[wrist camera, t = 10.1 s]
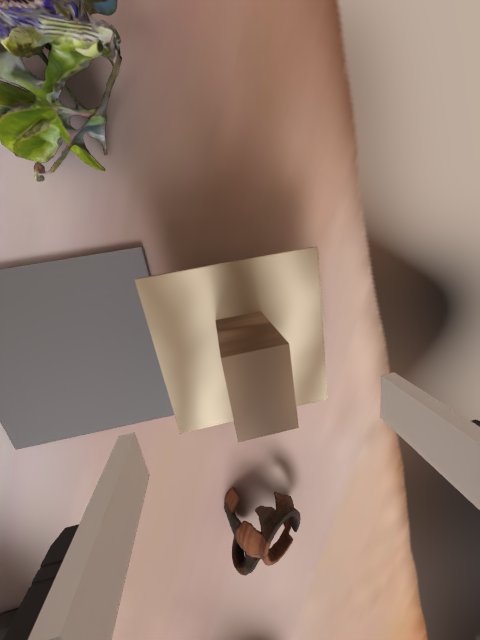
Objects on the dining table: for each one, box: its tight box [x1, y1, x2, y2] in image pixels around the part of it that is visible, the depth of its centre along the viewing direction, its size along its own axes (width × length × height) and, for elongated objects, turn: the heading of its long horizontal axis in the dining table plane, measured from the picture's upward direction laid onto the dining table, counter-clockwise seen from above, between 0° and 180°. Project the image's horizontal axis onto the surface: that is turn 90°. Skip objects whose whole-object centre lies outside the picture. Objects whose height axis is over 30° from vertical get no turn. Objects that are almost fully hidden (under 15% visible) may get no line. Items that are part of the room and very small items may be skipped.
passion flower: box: [0, 0, 122, 182], centre depth 18 cm, size 11×11×12 cm
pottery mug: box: [224, 488, 300, 575], centre depth 35 cm, size 12×9×8 cm
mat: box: [0, 247, 174, 450], centre depth 27 cm, size 20×20×1 cm
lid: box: [135, 247, 328, 442], centre depth 19 cm, size 15×15×8 cm
